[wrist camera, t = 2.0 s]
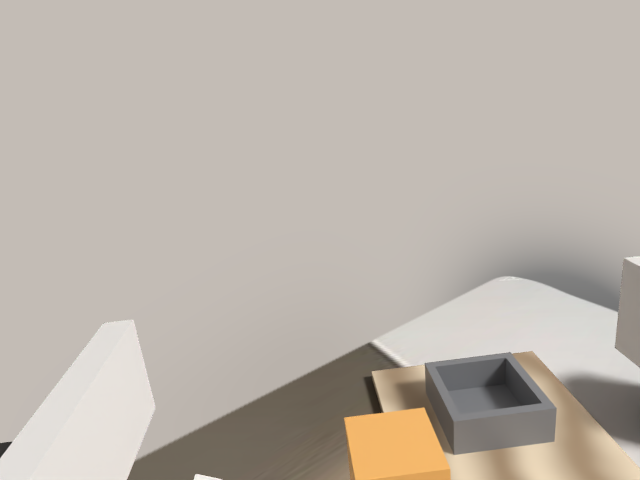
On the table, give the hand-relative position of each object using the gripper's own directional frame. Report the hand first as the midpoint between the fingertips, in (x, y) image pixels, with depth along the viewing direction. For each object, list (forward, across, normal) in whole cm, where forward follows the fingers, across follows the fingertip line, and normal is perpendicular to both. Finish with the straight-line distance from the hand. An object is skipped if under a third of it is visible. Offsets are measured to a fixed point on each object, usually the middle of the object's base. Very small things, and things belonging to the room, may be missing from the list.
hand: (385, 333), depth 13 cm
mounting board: (+25, +13, -25) cm, 38 cm away
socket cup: (+25, +13, -24) cm, 37 cm away
